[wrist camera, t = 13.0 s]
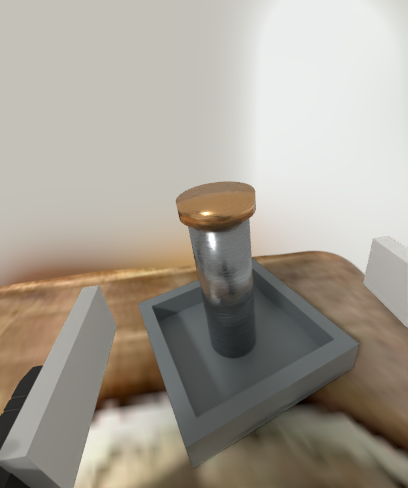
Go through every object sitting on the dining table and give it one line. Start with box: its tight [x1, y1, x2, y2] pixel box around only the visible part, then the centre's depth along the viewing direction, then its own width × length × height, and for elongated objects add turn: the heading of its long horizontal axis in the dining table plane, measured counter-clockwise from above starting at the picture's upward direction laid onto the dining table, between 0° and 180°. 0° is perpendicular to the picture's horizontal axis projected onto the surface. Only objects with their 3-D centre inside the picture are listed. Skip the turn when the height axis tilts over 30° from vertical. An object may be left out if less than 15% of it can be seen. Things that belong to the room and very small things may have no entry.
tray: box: [138, 258, 359, 468], centre depth 20 cm, size 12×12×2 cm
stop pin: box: [176, 182, 256, 358], centre depth 17 cm, size 4×4×12 cm
